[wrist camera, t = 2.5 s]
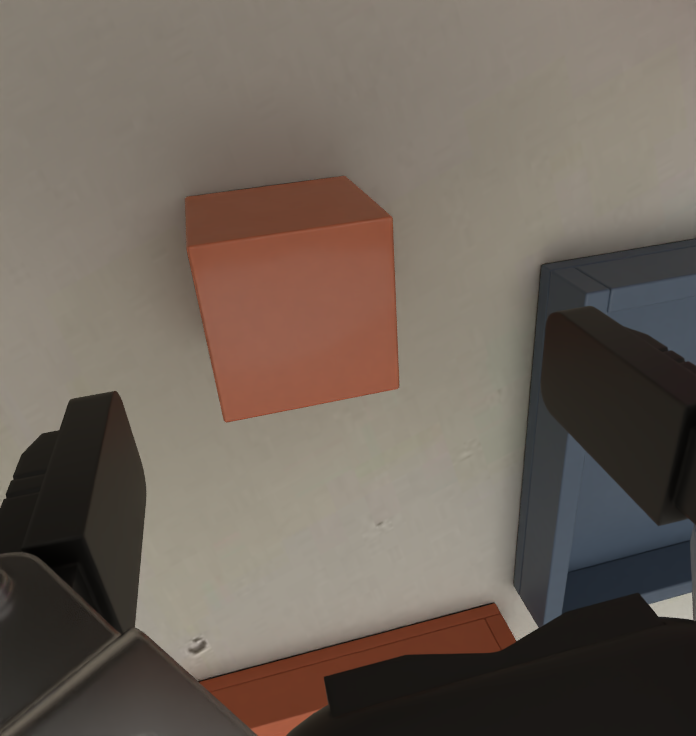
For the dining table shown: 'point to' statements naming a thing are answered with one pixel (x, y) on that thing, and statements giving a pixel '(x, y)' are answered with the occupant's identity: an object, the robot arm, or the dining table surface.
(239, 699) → the terracotta tray
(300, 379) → the terracotta block
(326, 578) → the dining table surface
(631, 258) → the slate tray
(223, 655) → the dining table surface
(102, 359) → the dining table surface
